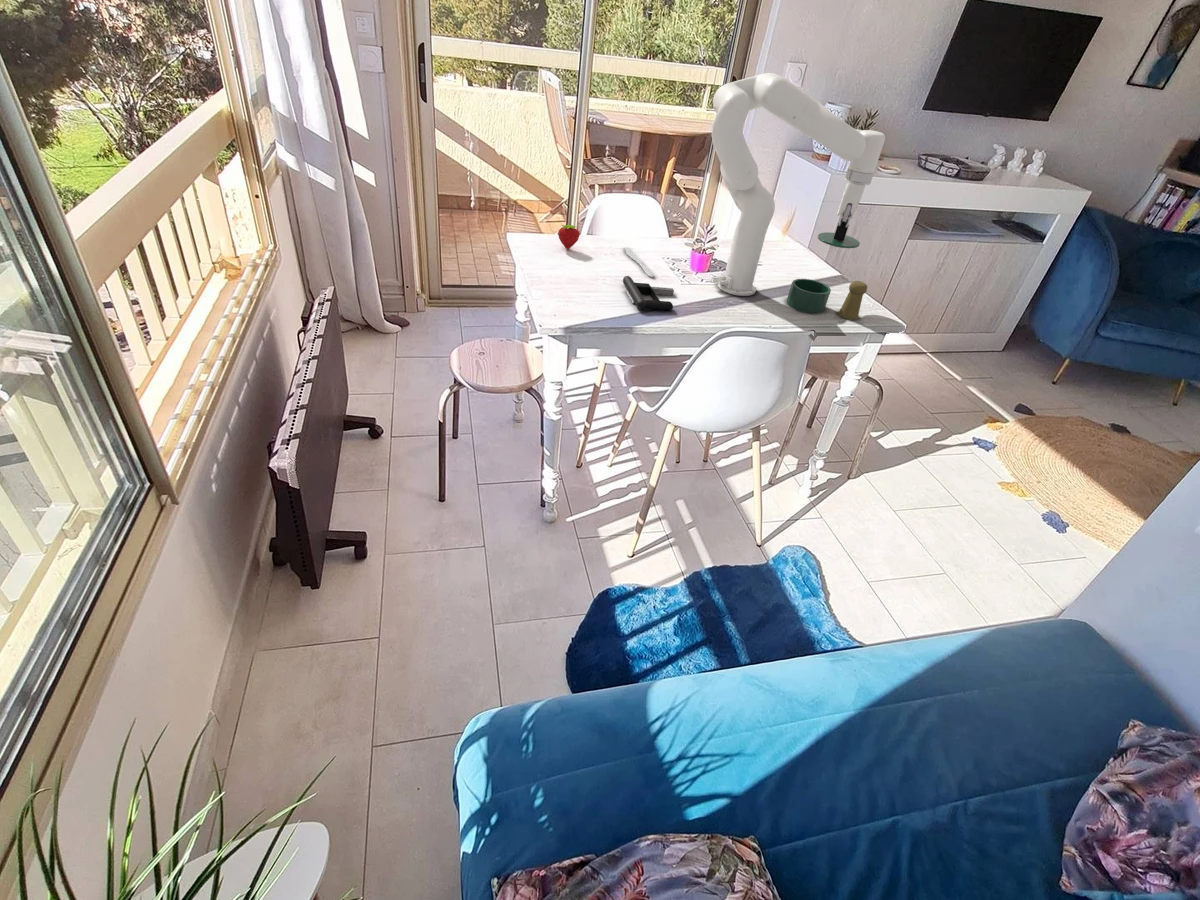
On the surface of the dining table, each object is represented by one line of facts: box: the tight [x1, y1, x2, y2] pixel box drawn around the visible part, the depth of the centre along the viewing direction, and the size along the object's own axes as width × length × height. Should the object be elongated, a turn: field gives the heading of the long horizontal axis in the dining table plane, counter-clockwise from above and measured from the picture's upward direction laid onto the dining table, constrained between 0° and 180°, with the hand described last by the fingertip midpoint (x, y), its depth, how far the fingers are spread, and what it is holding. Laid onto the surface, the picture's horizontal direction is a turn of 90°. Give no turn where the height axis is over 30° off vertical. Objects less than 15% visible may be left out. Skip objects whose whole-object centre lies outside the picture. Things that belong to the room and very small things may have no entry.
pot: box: [786, 278, 832, 314], centre depth 199 cm, size 12×12×6 cm
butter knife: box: [624, 247, 655, 278], centre depth 216 cm, size 1×27×3 cm
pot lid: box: [817, 231, 861, 249], centre depth 197 cm, size 13×13×6 cm
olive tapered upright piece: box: [837, 280, 868, 321], centre depth 195 cm, size 6×6×11 cm
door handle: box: [622, 275, 675, 312], centre depth 191 cm, size 3×20×16 cm
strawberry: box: [557, 221, 581, 250], centre depth 216 cm, size 6×8×10 cm
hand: (839, 237), depth 198 cm, fingers closed on pot lid, 2 cm apart
